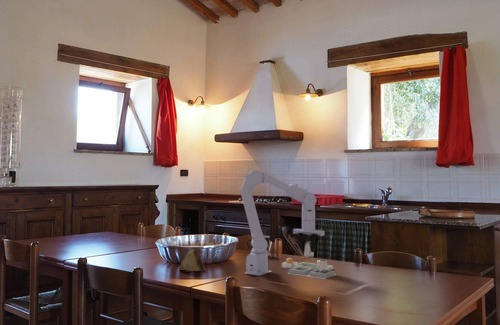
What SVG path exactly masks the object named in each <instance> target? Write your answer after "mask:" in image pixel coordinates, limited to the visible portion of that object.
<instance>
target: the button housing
mask: <svg viewBox="0 0 500 325" xmlns="http://www.w3.org/2000/svg"><path fill="white" fill-rule="evenodd" d="M295 264H298V261H297V262H296V261H293V263H291V264H290V263H287V261H284V262H282V263H281V268H283V269H291V268H294V265H295Z"/></svg>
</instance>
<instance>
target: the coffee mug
mask: <svg viewBox="0 0 500 325" xmlns="http://www.w3.org/2000/svg"><path fill="white" fill-rule="evenodd" d="M263 237H264V238H265V240H266V241H267V243H268V247H267V249H266V250H267V251H268V252H269V246H270V237H271V236H270V235H263ZM251 240H252V239H248V240H247V242H246V245H247V247H248V248H249V249H250V250H252V249H253V247H251V246H250V245H249V242H251Z"/></svg>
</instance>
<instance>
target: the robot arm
mask: <svg viewBox="0 0 500 325" xmlns="http://www.w3.org/2000/svg"><path fill="white" fill-rule="evenodd" d="M242 182H243V183H242V186H241V188H240V196H241V199H242V203H243V208H244V212H245V215H246V218H247V223H248V225H249V226H248V227H249V230H250V234H251V239H250V240H251V241H250V244H251V246H252V249H250V253H249V254H247V255H246V260H245V272H244V275H245V274H247V275H254V276H259V277H260V276H262V275H266V274H268V273H272V272H273V271H272V270H269V264H268V261H269V258H268V257H269V250H268V251H267V250H266V249H267V247H268V243H267V241H266V240H265V238H264V237H263V236H264V233H263V231H262V228H261V223H260V220H259V217H258V216H259V215H258V213H257V208H256V204H255V201H254V197H253V193H254V190H255V189H256V188H257V187H258V186H259V185H260V184H270V185H272V186H274V187H276V188H277V189H280V190H282V191H283V192H284V191H285V192H284V193H285V195H286V196H287V197H289V198H291V199H292V200H295V201H297V202H300V203H301V228H293V230H292V234H295V235H296V237H297V239H298V241H299V245H300V247H301V251H302V252H304V242H307V238H308V235H309V239H310V242H311V252H314V253H315V252H316V249H317V246H318V242H319V240H320V239H321V237H323V236H325V230H319V229H316V206H315V205H316V203H317V197H316V195H315V194H314V193H313V192H310V191H308V189H307V188H305V189H304V188H302V187H300V186H299V185H298V183H290V184H287V183H286V182H284V181H282V180H280V179H278V178H277V177H274V175H271V174H268V173H267V172H262V171H260V170H258V169H254V170H251V171H249V172H248V173H247V175H246V176H245V177H244V179H243V181H242Z"/></svg>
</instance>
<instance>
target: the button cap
mask: <svg viewBox="0 0 500 325" xmlns="http://www.w3.org/2000/svg"><path fill="white" fill-rule="evenodd" d="M286 262H287V263H290V264H291V263H293V262H294V258H291V257H287V258H286Z"/></svg>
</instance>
